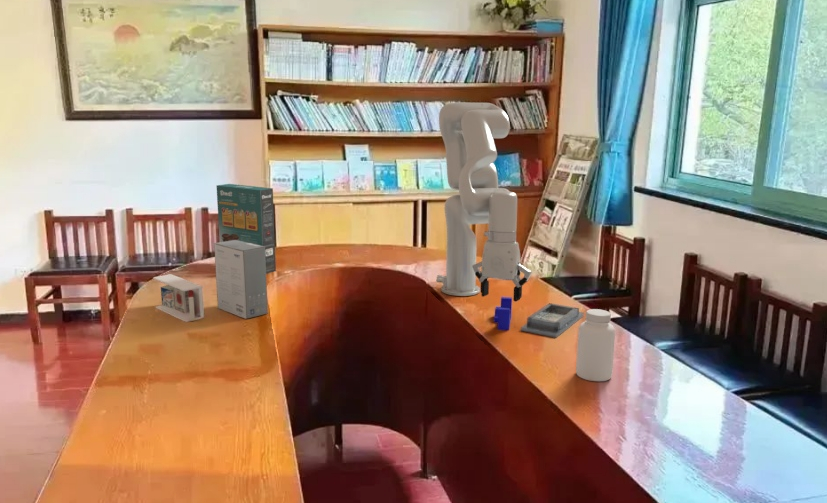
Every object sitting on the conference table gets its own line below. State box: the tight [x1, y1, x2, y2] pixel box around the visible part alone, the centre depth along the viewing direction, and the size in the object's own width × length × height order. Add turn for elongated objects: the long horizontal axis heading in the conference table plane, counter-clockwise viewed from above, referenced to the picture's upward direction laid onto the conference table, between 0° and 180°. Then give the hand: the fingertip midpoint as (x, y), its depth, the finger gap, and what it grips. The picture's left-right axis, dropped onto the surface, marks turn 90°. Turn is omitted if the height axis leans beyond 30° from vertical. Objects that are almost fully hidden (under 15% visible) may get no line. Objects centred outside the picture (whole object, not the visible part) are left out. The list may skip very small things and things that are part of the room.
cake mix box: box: [216, 183, 277, 275], centre depth 243 cm, size 22×6×30 cm, turn 58°
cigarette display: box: [152, 273, 205, 323], centre depth 193 cm, size 20×6×9 cm, turn 46°
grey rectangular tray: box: [520, 302, 585, 339], centre depth 188 cm, size 10×22×3 cm, turn 148°
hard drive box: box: [213, 240, 269, 320], centre depth 194 cm, size 16×8×20 cm, turn 47°
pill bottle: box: [575, 308, 616, 382], centre depth 151 cm, size 8×8×15 cm
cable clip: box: [493, 296, 513, 331], centre depth 188 cm, size 12×4×6 cm, turn 169°
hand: (500, 297), depth 186 cm, fingers open, 9 cm apart
